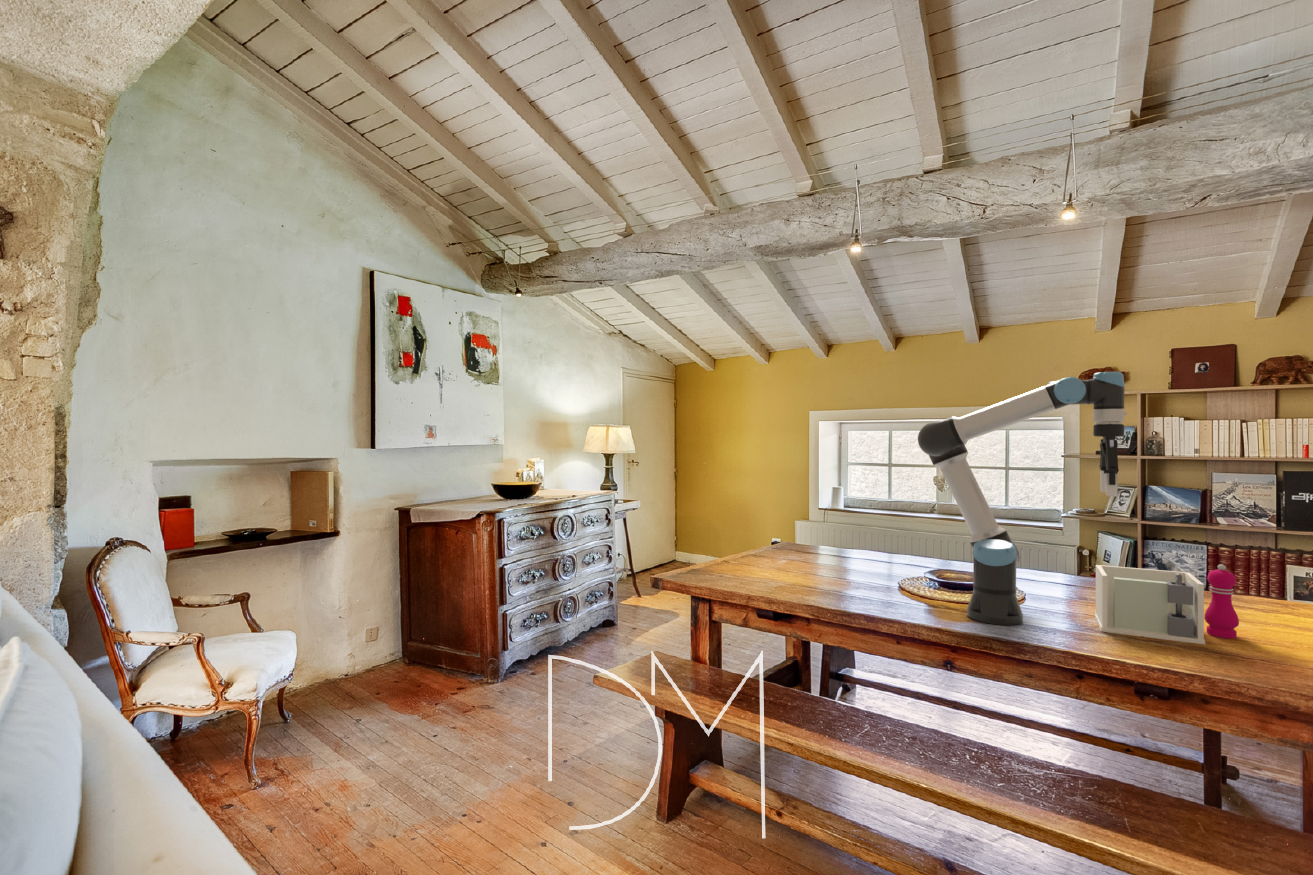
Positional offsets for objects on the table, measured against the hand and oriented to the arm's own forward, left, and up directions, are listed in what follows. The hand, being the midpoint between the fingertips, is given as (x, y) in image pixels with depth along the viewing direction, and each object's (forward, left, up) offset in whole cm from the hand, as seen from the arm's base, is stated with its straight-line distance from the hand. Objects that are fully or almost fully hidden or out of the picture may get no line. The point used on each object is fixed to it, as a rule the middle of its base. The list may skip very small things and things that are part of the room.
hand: (1108, 494), depth 188 cm
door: (+9, -9, -38) cm, 40 cm away
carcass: (+8, -4, -39) cm, 40 cm away
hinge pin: (+15, -9, -37) cm, 41 cm away
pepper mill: (+26, 0, -39) cm, 47 cm away
